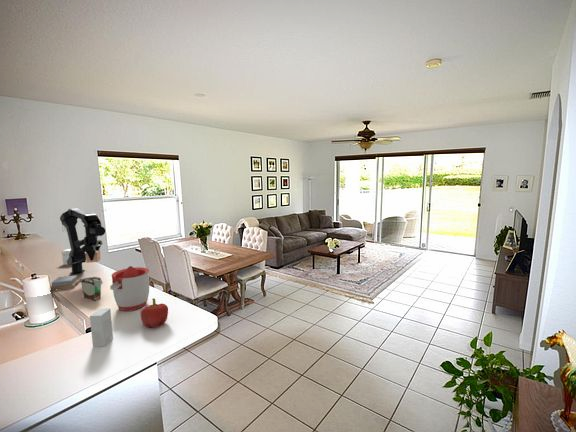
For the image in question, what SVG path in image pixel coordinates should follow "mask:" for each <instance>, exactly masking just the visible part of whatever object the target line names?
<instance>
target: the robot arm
mask: <svg viewBox="0 0 576 432" xmlns="http://www.w3.org/2000/svg"><path fill="white" fill-rule="evenodd" d="M78 219H80V220H81V223H83V227H84V233H85V236H84V238H83V239H81V240H79V237H78V232H77V227H76V226H77V223H78ZM59 220H60V222H61V225H62V226H63V227H65V228H66V233H67V237H68V242H69V245H70V249H71V251H70V253H69V258H68V260H67V264H68V265H67V266H71V272H69V275H74V274H75V275H76V274H77V275H78V274H79V275H80V274H82V273H84V271H85V269H84V268H83V264H84V263H86V254H85V253H87V254H88V256H89V258H90V260H93V258H94V255H95V252H96V250H101V246H102V245H103V240H101V239H99V240H98V237H103V236H104V234H106V229H105V227H103V226H102V221H101V220H100V218H99V216H98V215H97V214H96V213H88V212H86V211H84V210H81V209H79V208H78V207H77V208H76V207H74V208H69V209H68V210H66V211H65V212H63V213H62V214H61V215H60V217H59Z"/></svg>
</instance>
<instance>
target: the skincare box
mask: <svg viewBox="0 0 576 432" xmlns="http://www.w3.org/2000/svg"><path fill="white" fill-rule="evenodd" d="M89 321H90V322H89V323H90V332H91V343H92V347H106V345H107V344H108V343H109V342H110V341H111V340H112V339H113V338H114V333H113V324H112V323H113V322H112V312H111V308H106V307H105V308H98V309H97V310H96V311H95V312H93V313H92V314H90V315H89Z"/></svg>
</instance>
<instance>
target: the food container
mask: <svg viewBox="0 0 576 432" xmlns="http://www.w3.org/2000/svg"><path fill="white" fill-rule="evenodd" d="M80 279H81V282H80V284H81V289H82V296H83V298H84V299H86V300H89V301H93V302H97V301H99V300H100V299H101V298H102V297H101V295H102V284H103V279H102V278H101V277H99V276H92V277H84V278H80Z"/></svg>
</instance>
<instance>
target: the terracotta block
mask: <svg viewBox="0 0 576 432" xmlns="http://www.w3.org/2000/svg"><path fill="white" fill-rule="evenodd" d="M85 254H86V262H85V263H86V264H87V263H88V264H89V263H98V262H100V261H101V249H99V250H96V252H95V255H94V258H93V260H90V258H89V256H88V254H87V253H86V252H85Z"/></svg>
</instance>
